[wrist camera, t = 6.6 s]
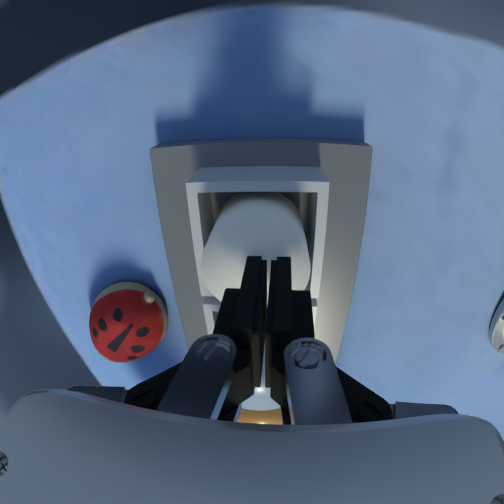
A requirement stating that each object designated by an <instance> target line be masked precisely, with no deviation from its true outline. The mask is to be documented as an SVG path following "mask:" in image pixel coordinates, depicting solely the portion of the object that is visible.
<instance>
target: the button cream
mask: <svg viewBox="0 0 504 504" xmlns="http://www.w3.org/2000/svg"><path fill="white" fill-rule="evenodd" d="M247 256H262V260H267V304H268V293H269V281H270V269H271V260H277V256H282V257H291V277H292V290H305V288H306V286H307V284H308V281H309V278H310V269H311V266H310V259H309V254H308V248H307V243H306V237H305V232H304V226H303V221H302V217H301V215H300V212H299V210H298V209H297V207H296V206H295V205H294V203H293V202H292V201H291V200H289V199H288V198H287V197H286V196H284V195H283V194H281V193H278V192H240V193H238V194H236V195H235V196H233V197H232V198H230V199H229V200H228V201H227V202H226V203H225V205H224V206H223V208H222V209H221V211H220V214H219V216H218V218H217V220H216V223H215V225H214V227H213V229H212V232H211V234H210V236H209V239H208V241H207V243H206V246H205V248H204V250H203V253H202V257H201V264H200V265H201V273H202V277H203V280H204V282H205V284H206V286H207V288H208V289H209V291H210V292H211V293H212V294H213V295H214V296H215V297H216V298H217V299H218V300H219V301H221V302H222V298H223V295H224V291H225V289H226V288H240V286H241V282H242V277H243V273H244V268H245V263H246V259H247Z"/></svg>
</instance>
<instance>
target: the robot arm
mask: <svg viewBox="0 0 504 504" xmlns="http://www.w3.org/2000/svg"><path fill="white" fill-rule="evenodd" d="M489 340H490V343H491V345H492V346H493V348H494V350H495V351H497V352H500V353H504V298H503V299H502V301H501V303H500V304H499V306H498V308H497V310H496V312H495V314H494V317H493V319H492V322H491V325H490V329H489ZM264 346H265V388H270V398H272V399H273V400H274V401H275V402H276V403H277V404H278V405H280V417H281V425H278V424H257V423H243V422H237V421H238V418H239V415H240V412H241V409H242V402H244V401H245V400H247V399H248V398H250V397H251V396H252V395H254V390H255V387H260V386H261V377H262V367H263V357H264ZM0 504H504V441H503V439H502V437H501V435H500V433H499V432H498V430H497V429H496V428H495V427H494V426H493V425H492V424H491V423H490V422H488V421H486V420H484V419H481V418H478V417H474V416H469V415H461V414H458V412H457V411H456V409H454V408H453V407H451V406H448V405H441V404H422V403H408V402H396V403H395V404H388V402H387V401H385V400H384V399H383V398H382V397H380V396H379V395H377V394H376V393H374V392H373V391H371V390H370V389H368V388H367V387H365V386H364V385H362V384H361V383H359V382H358V381H356V380H355V379H353V378H352V377H350V376H349V375H347V374H346V373H345V372H343V371H342V370H340V369H339V368H337V367H336V366H335V363H334V360H333V356H332V353H331V351H330V349H329V347H328V346H327V345H326V344H325V343H324V342H322V341H320V340H318V339H315V334H314V322H313V311H312V301H311V292H310V290H292V277H291V257H282V256H277V260H271V269H270V281H269V293H268V304H267V260H262V256H247V259H246V263H245V268H244V273H243V277H242V282H241V286H240V288H226V289H225V291H224V295H223V298H222V302H221V305H220V309H219V312H218V316H217V319H216V323H215V326H214V330H213V334H209V335H205V336H202V337H200V338H198V339H197V340H196V341H195V342H194V343H193V344H192V345H191V347H190V349H189V351H188V353H187V354H186V356H185V358H184V360H183V362H181V363H179V364H177V365H175V366H173V367H171V368H169V369H167V370H166V371H164V372H162V373H160V374H158V375H156V376H154V377H152V378H150V379H148V380H146V381H143V382H141V383H139V384H137V385H136V386H134V387H133V388H131V389H130V390H126V389H125V387H108V386H84V385H78V386H73V387H71V388H69V389H68V390H58V389H47V390H38V391H33V392H29V393H27V394H25V395H24V396H22V397H21V398H20V399H19V400H18V401H17V402H16V403H15V404H14V405H13V407H12V408H11V410H10V411H9V412H8V414H7V415H6V417H5V419H4V420H3V422H2V424H1V426H0Z"/></svg>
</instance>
